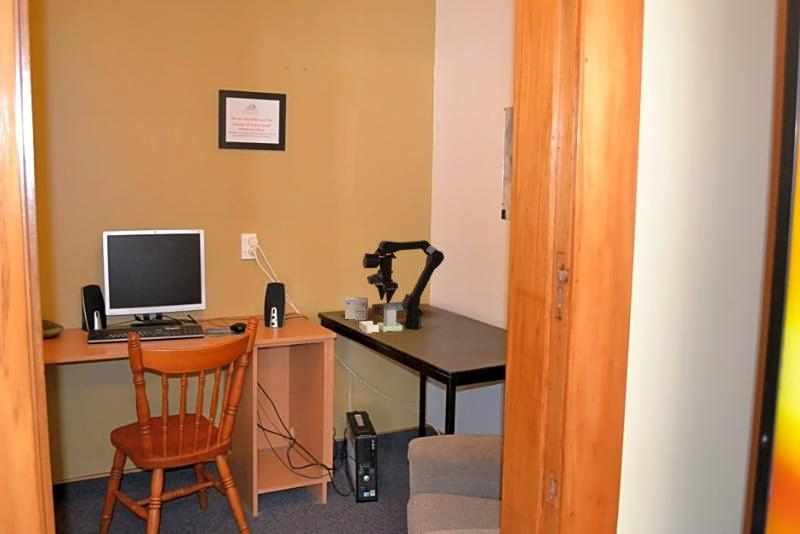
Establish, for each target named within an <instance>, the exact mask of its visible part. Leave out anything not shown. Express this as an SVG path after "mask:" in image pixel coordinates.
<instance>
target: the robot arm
mask: <svg viewBox="0 0 800 534" xmlns="http://www.w3.org/2000/svg"><path fill="white" fill-rule="evenodd" d="M410 250H421V251H423V253H424V254H425V255H426V258H425V259H426V260H425V266H424V268H423V269H422V272H421V274H420V275H419V278H418V279H417V281H416V284H415V286H414V287H413V290H412V292H411V293H409V294H408V293H406V294H405V296H404V299H403V300H401V302H403V303H402V307H403V309H404V310H405V311H406V314H408V315H407V318H406V319H405V327H404V328H405V329H410V330H420V329H422V328H423V325H422V316H423V314H424V311H422V309H421V308H420V309H419V307H420V305H421V297H422V295H423V293H424V290H425V289H426V287H427V285H428V283H429V281H430V279H431V278H432V275H433V273H434V272H435V270H436V269H437V268H439V266H441V264H442V263H443V262H444V259H445V256H444V253H443V252H442V251H440V250H438V249H437V248H436V247H434V246H433V245H432V244H431V243H430V242H428V241H427V240H424V239H420V240H411V241H393V240H382V241H380V243H379V244H378V248H377V249H376V250H375V252H374V253H367V252H365V253H364V256H363V259H362V266H363V269H377V268H378V267H379V269H378V270H377V273H374V274H371V275H369V276H368V275H367V277H366V279H367V283H368V285H372V286H373V285H374V287H376V289H377V291H378V295H379V299H380V301H383V300H384V297H385V300H386V303H391V300H392V299H393V296H394V295H395V293H396V291H397V290H398V288H399V284H398V283H397V282H396V281H394V279H392V278H393V274H394V270H393V259H397V256H396V255H395V254H394V253H397V252H399V251H410Z"/></svg>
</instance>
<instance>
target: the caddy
mask: <svg viewBox="0 0 800 534" xmlns="http://www.w3.org/2000/svg"><path fill="white" fill-rule="evenodd" d="M383 322H384V326H396V322H397V319H396V307H394V306H384V317H383Z"/></svg>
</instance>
